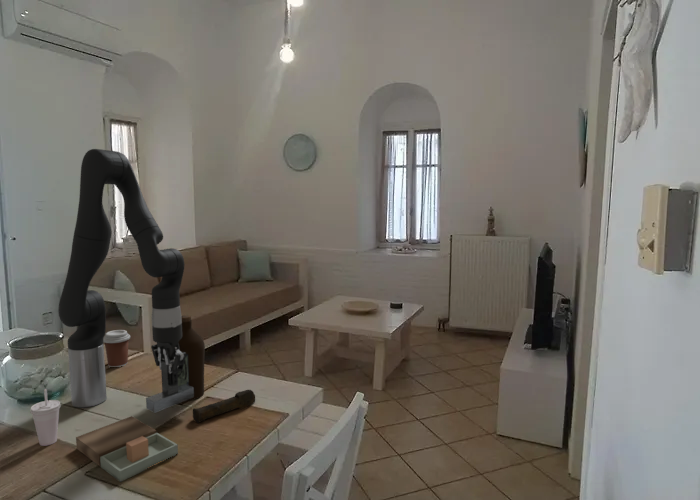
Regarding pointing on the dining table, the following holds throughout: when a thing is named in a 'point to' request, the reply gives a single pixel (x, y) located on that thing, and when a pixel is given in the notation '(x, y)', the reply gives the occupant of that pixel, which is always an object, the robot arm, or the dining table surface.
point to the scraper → (168, 393)
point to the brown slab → (111, 438)
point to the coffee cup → (116, 347)
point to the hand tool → (224, 405)
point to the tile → (137, 449)
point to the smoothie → (46, 420)
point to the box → (125, 469)
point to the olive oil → (192, 358)
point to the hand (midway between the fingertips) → (169, 383)
